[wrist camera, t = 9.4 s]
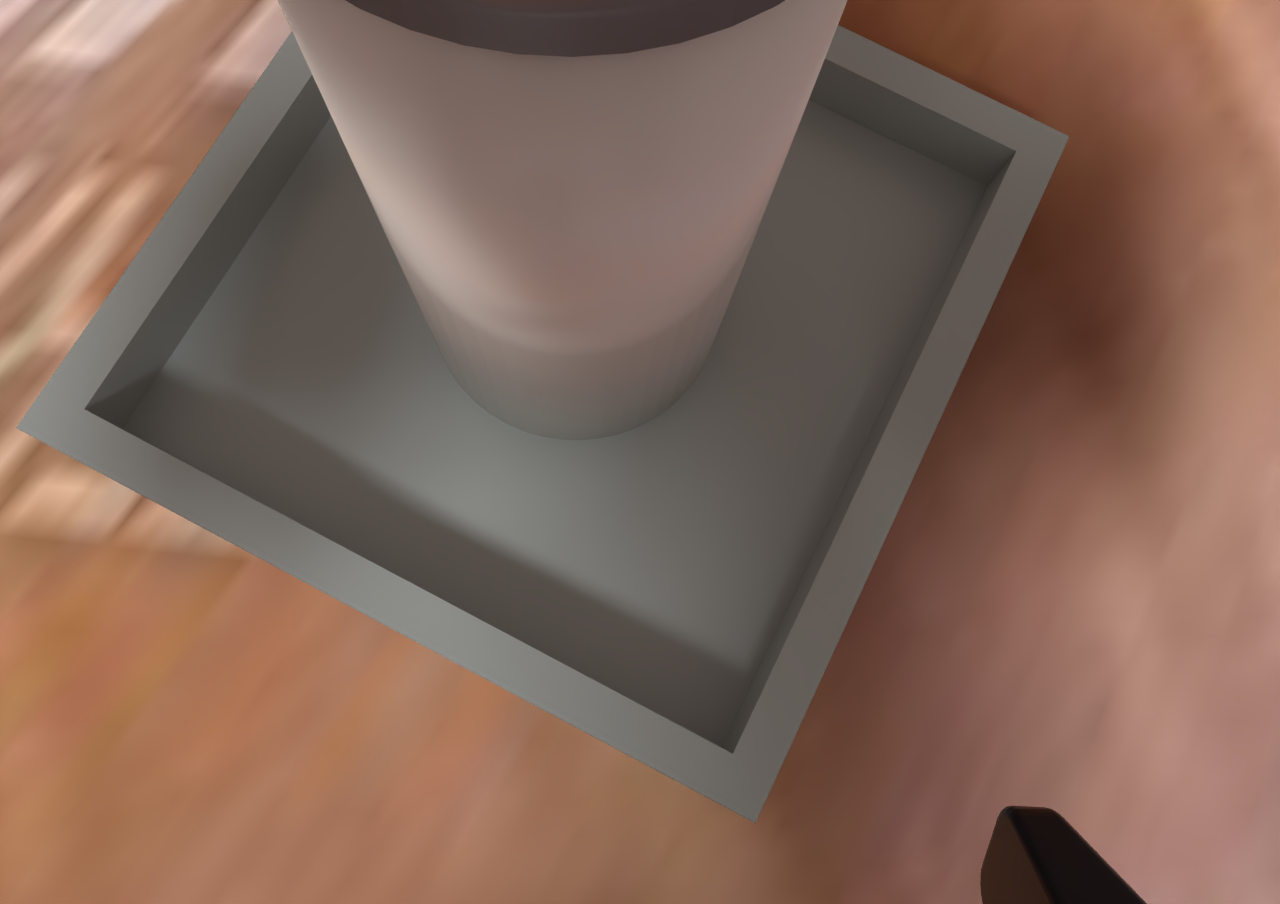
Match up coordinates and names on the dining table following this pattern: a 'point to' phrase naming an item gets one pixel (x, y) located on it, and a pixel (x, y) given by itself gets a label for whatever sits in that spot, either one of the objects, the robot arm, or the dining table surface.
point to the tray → (570, 469)
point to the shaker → (568, 179)
